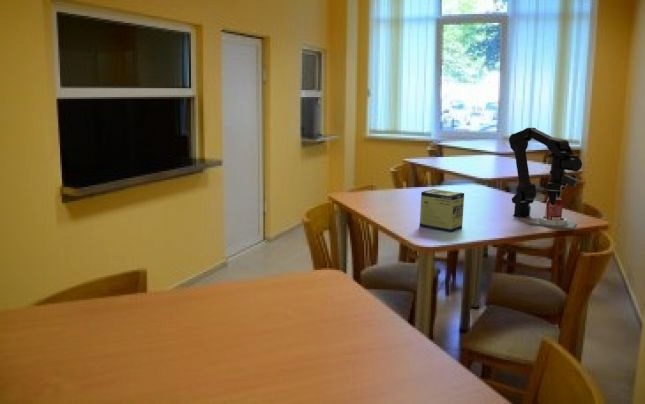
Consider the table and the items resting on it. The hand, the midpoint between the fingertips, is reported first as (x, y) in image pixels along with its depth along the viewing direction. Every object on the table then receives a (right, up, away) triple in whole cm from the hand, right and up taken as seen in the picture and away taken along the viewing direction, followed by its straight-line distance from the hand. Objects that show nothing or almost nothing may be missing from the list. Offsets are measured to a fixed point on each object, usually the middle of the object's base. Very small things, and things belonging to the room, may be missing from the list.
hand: (554, 203), depth 260 cm
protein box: (-52, -11, -7) cm, 53 cm away
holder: (0, -9, +2) cm, 10 cm away
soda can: (0, -9, +2) cm, 10 cm away
